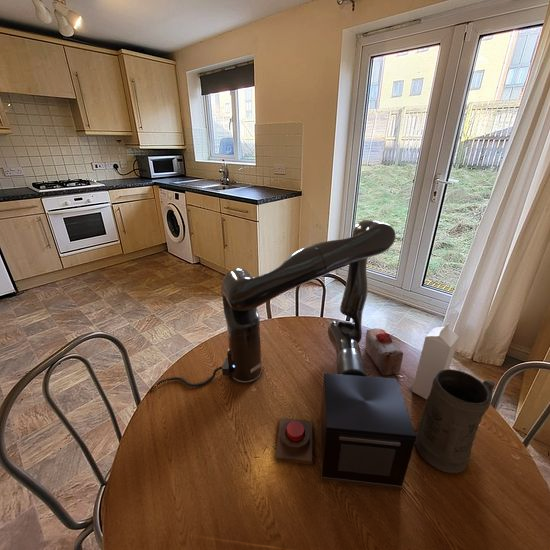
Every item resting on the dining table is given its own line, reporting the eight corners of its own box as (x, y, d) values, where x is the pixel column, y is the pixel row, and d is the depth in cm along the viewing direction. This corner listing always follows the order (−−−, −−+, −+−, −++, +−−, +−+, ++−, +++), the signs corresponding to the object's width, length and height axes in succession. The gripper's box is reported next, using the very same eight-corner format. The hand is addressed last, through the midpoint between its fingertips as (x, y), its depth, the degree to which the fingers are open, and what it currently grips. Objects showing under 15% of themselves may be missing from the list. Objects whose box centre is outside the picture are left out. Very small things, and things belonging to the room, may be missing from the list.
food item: (360, 347, 99) (363, 323, 95) (382, 345, 100) (386, 321, 96) (379, 376, 87) (384, 350, 83) (404, 373, 88) (410, 347, 84)
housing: (275, 460, 65) (275, 451, 63) (280, 421, 74) (280, 412, 72) (311, 464, 64) (312, 455, 62) (312, 424, 73) (312, 415, 71)
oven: (321, 481, 61) (326, 428, 54) (320, 421, 73) (323, 373, 67) (401, 490, 59) (417, 437, 52) (385, 427, 72) (396, 378, 65)
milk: (442, 392, 82) (463, 326, 72) (433, 404, 78) (454, 336, 69) (420, 380, 86) (437, 316, 76) (411, 391, 82) (428, 325, 73)
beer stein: (444, 485, 60) (476, 413, 52) (402, 441, 68) (423, 374, 60) (486, 454, 66) (520, 387, 59) (443, 418, 75) (467, 355, 67)
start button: (285, 441, 66) (285, 435, 65) (287, 425, 70) (287, 420, 69) (303, 442, 66) (303, 437, 65) (304, 427, 69) (304, 422, 68)
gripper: (324, 356, 78) (328, 408, 63) (380, 359, 77) (397, 414, 61) (323, 377, 81) (325, 432, 66) (376, 381, 80) (391, 438, 64)
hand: (360, 423), depth 64 cm, fingers closed on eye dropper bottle, 5 cm apart
